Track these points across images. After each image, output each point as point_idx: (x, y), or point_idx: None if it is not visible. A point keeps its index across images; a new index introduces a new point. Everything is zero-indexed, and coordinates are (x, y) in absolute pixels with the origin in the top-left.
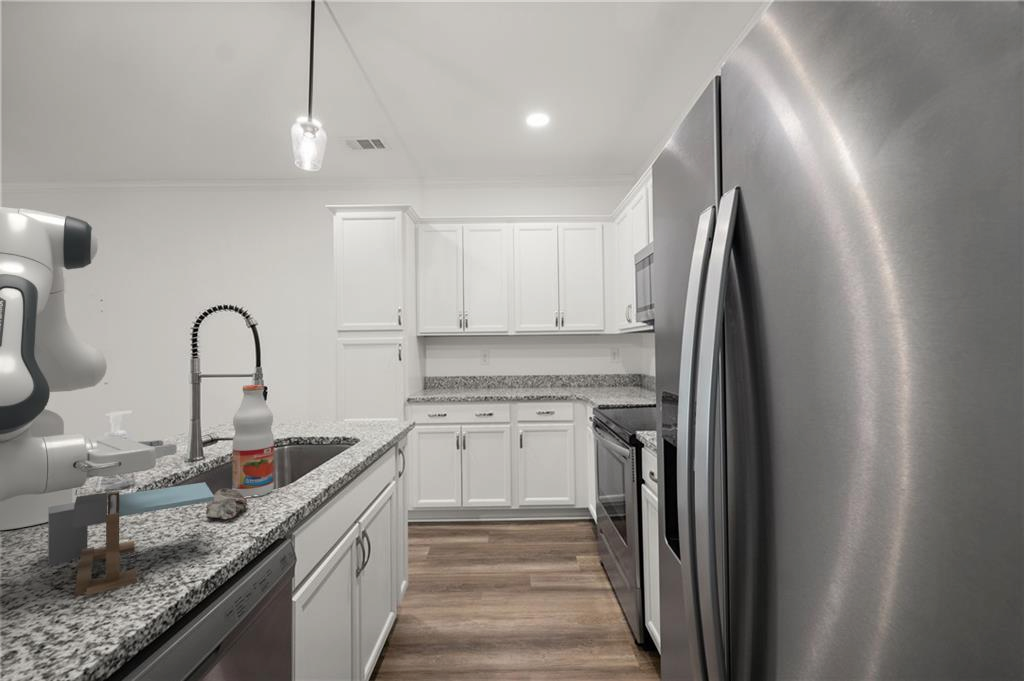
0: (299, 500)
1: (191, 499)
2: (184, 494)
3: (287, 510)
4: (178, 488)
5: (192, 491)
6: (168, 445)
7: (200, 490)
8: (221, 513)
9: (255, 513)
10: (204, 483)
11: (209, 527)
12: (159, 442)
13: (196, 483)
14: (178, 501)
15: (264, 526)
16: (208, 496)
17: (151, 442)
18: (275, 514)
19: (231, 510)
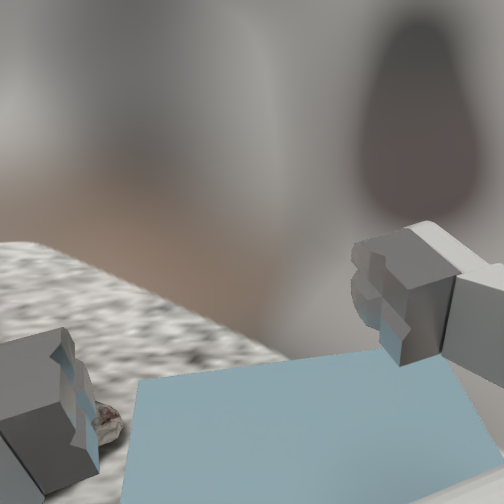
0: (85, 285)
1: (466, 413)
2: (344, 447)
3: (143, 309)
4: (184, 483)
5: (297, 418)
6: (465, 248)
7: (295, 389)
8: None
9: (95, 371)
10: (162, 381)
11: (113, 496)
12: (70, 354)
13: (134, 410)
14: (489, 466)
15: (234, 356)
16: (430, 358)
17: (37, 416)
18: (152, 332)
19: (97, 408)
